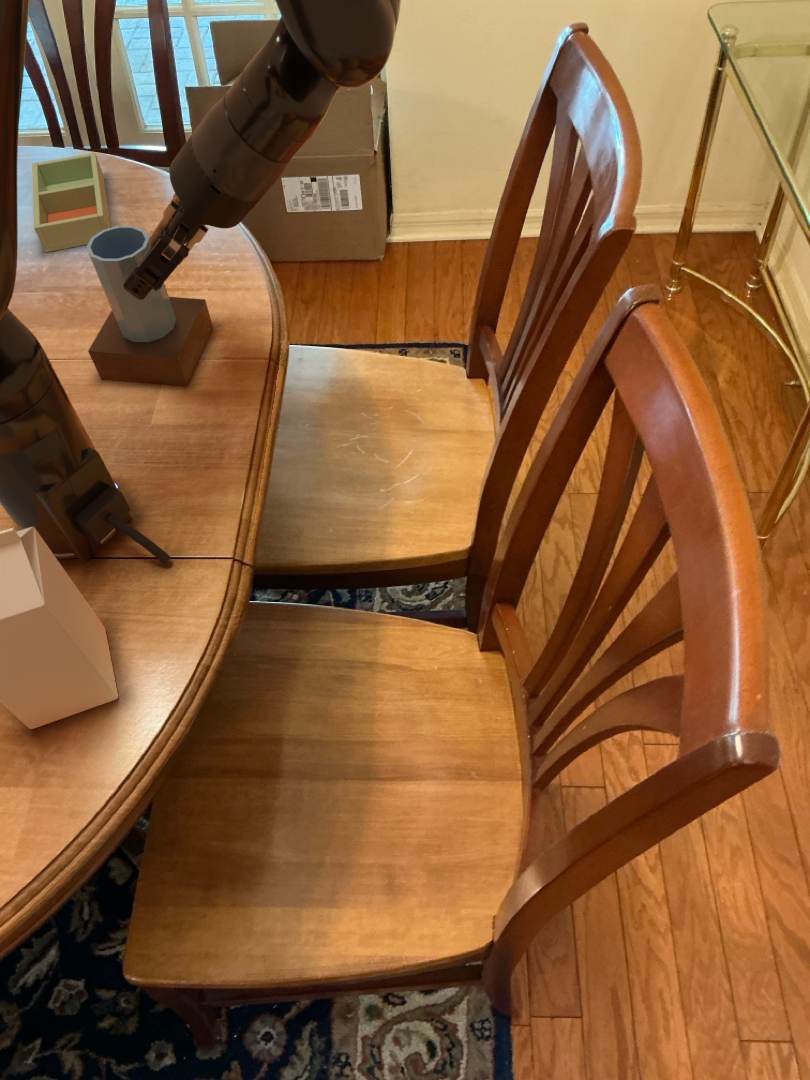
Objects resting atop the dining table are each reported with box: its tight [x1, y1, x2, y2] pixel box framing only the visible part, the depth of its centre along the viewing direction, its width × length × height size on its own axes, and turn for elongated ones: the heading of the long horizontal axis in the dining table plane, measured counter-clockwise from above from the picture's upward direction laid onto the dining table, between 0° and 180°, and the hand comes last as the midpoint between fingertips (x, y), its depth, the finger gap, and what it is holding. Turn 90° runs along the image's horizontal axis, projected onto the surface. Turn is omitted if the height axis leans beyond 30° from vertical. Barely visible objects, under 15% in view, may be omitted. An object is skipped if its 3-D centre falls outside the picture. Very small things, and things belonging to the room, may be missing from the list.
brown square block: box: [87, 296, 214, 387], centre depth 86 cm, size 10×10×4 cm
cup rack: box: [31, 152, 112, 253], centre depth 104 cm, size 9×16×4 cm, turn 17°
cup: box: [86, 225, 176, 342], centre depth 80 cm, size 6×6×10 cm
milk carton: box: [0, 527, 119, 730], centre depth 56 cm, size 7×7×19 cm
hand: (147, 266), depth 78 cm, fingers open, 8 cm apart
